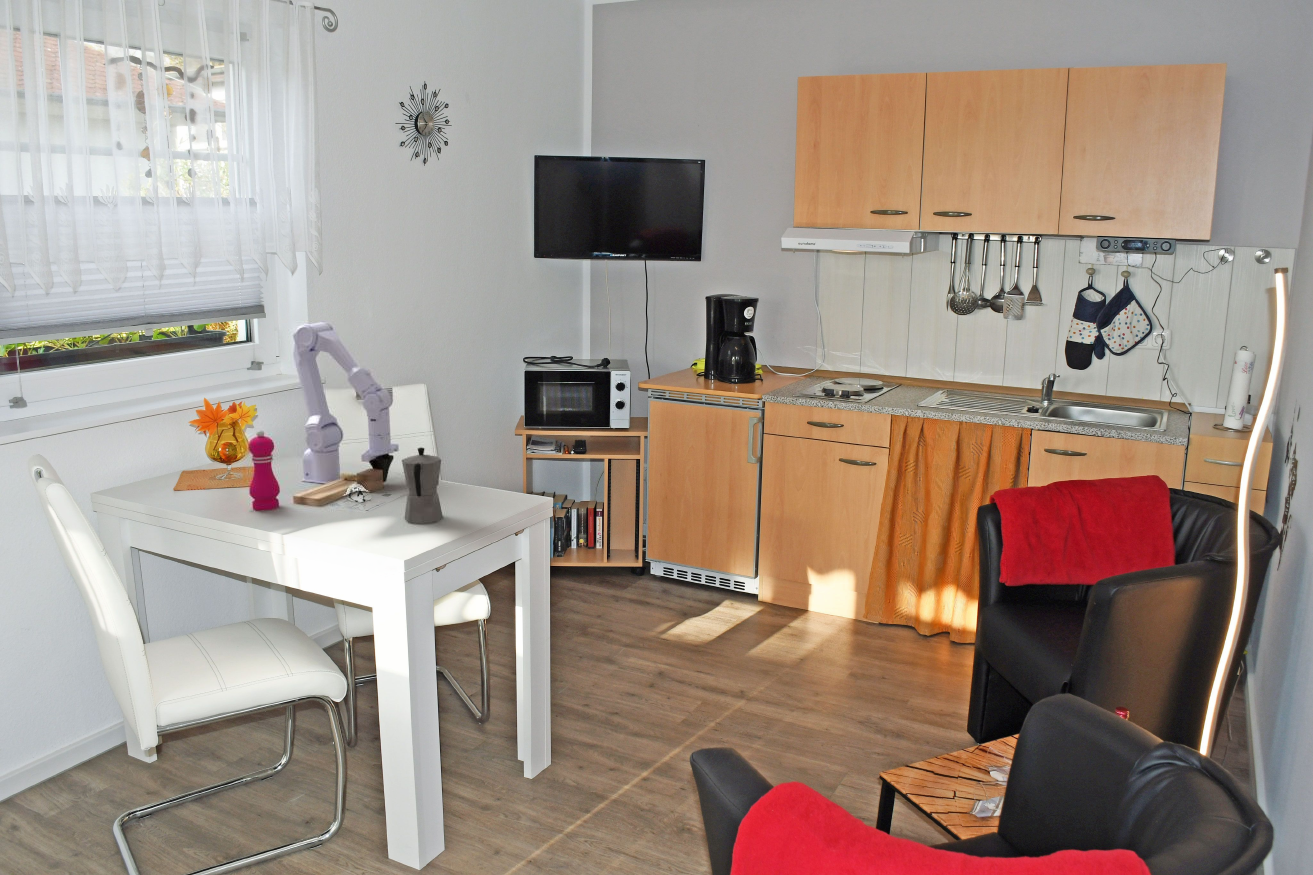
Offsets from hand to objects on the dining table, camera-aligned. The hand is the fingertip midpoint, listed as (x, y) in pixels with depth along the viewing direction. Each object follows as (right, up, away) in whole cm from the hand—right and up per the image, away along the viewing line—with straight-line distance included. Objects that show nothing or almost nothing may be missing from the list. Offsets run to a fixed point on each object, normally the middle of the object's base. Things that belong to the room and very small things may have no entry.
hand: (381, 481), depth 271 cm
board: (-10, -3, -10) cm, 15 cm away
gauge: (-5, -2, -3) cm, 6 cm away
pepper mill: (-23, -6, -22) cm, 33 cm away
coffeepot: (+19, -8, -31) cm, 38 cm away
